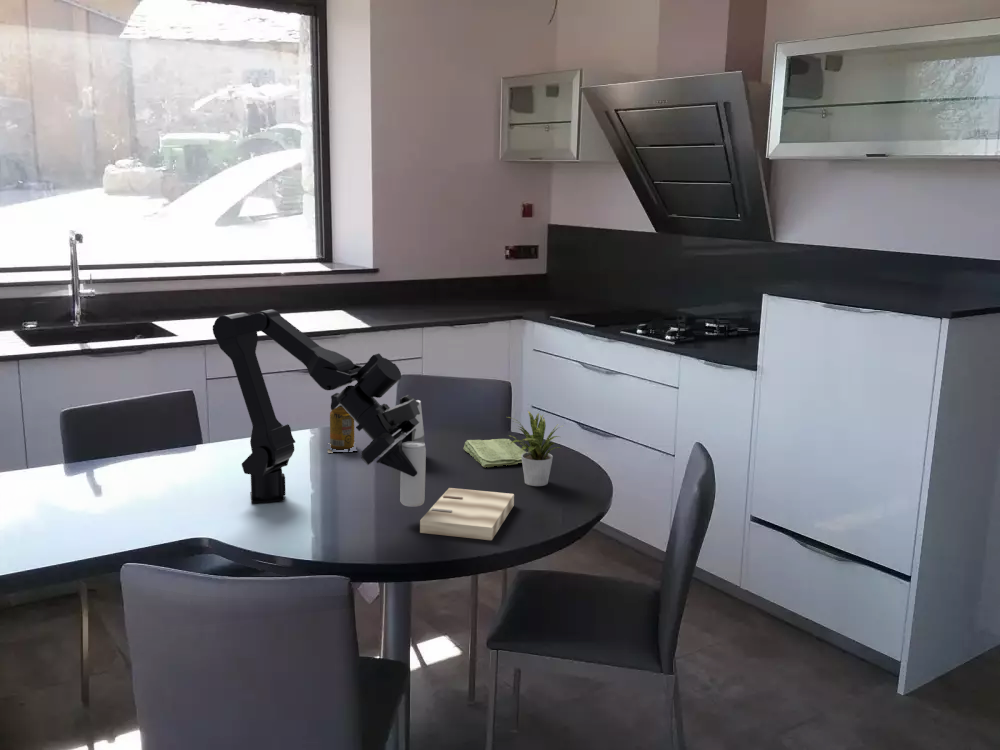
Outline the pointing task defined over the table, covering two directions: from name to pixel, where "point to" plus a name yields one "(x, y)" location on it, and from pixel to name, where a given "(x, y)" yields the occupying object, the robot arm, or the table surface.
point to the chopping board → (467, 514)
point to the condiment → (341, 429)
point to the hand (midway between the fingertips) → (419, 471)
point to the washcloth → (494, 452)
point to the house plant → (536, 453)
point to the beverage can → (414, 486)
